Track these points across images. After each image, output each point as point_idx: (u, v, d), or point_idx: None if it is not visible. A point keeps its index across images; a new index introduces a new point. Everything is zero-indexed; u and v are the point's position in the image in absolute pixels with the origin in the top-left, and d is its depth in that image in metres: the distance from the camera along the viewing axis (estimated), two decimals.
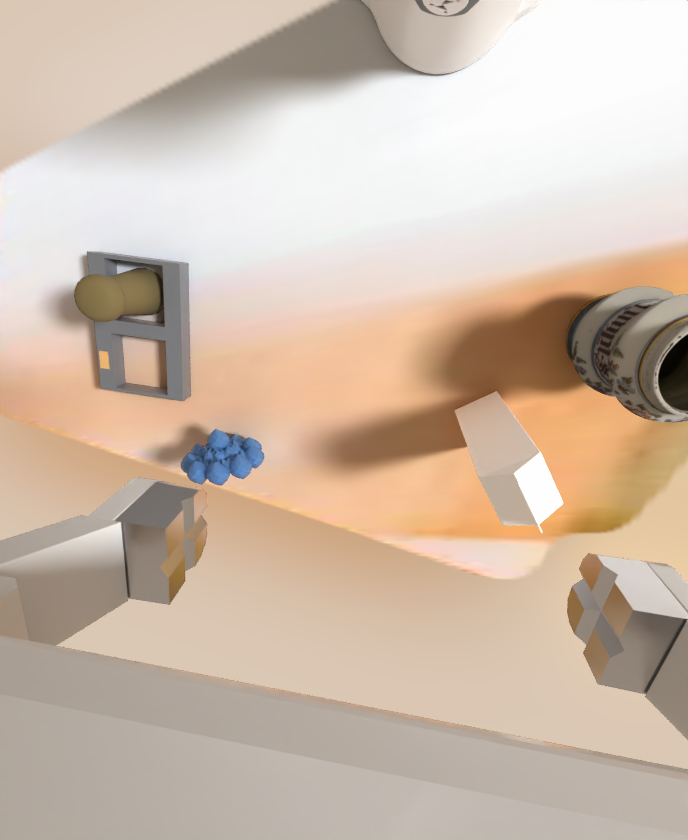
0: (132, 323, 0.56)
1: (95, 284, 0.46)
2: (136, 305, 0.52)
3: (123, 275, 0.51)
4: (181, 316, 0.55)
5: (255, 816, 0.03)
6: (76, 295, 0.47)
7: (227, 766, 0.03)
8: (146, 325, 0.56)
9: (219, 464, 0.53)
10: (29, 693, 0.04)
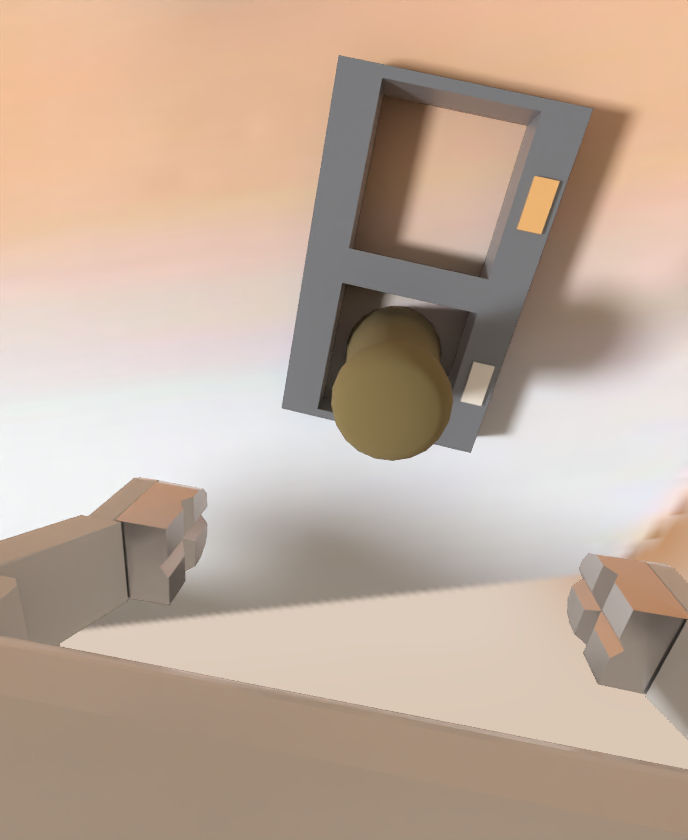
0: (421, 298, 0.24)
1: (367, 446, 0.18)
2: (357, 351, 0.22)
3: None
4: (299, 302, 0.25)
5: (255, 816, 0.03)
6: (431, 427, 0.17)
7: (227, 766, 0.03)
8: (387, 290, 0.24)
9: None
10: (28, 693, 0.04)
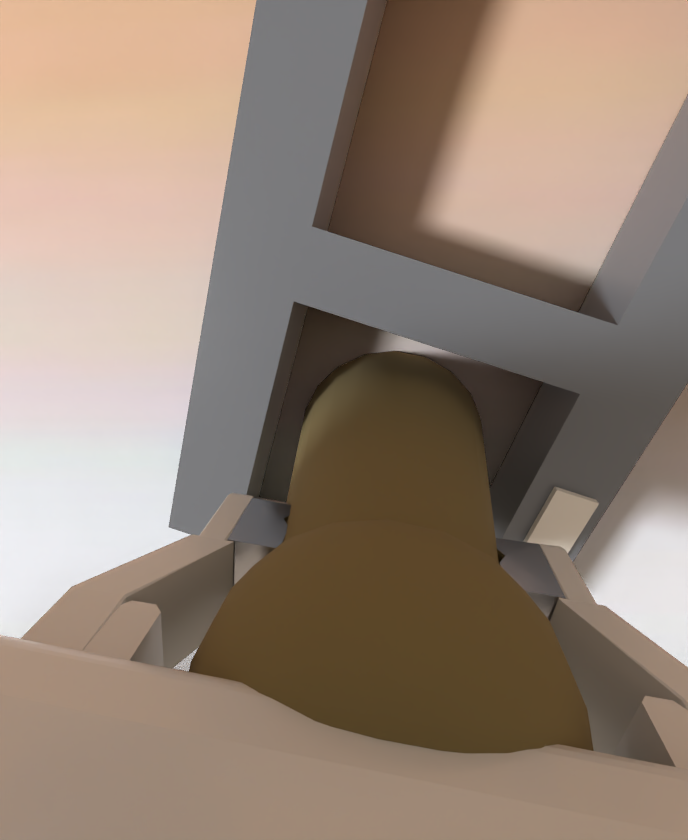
0: (463, 351, 0.11)
1: None
2: (305, 477, 0.09)
3: None
4: (203, 334, 0.12)
5: (255, 816, 0.03)
6: None
7: (227, 766, 0.03)
8: (390, 327, 0.11)
9: None
10: (29, 692, 0.04)
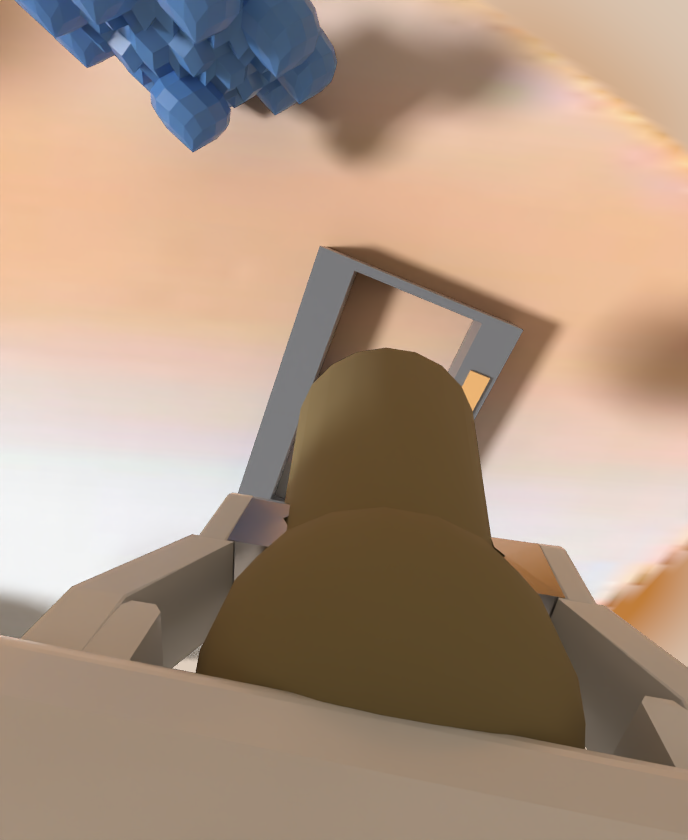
0: None
1: None
2: (303, 473, 0.09)
3: None
4: (260, 426, 0.28)
5: (255, 816, 0.03)
6: None
7: (227, 766, 0.03)
8: None
9: (78, 6, 0.14)
10: (29, 693, 0.04)
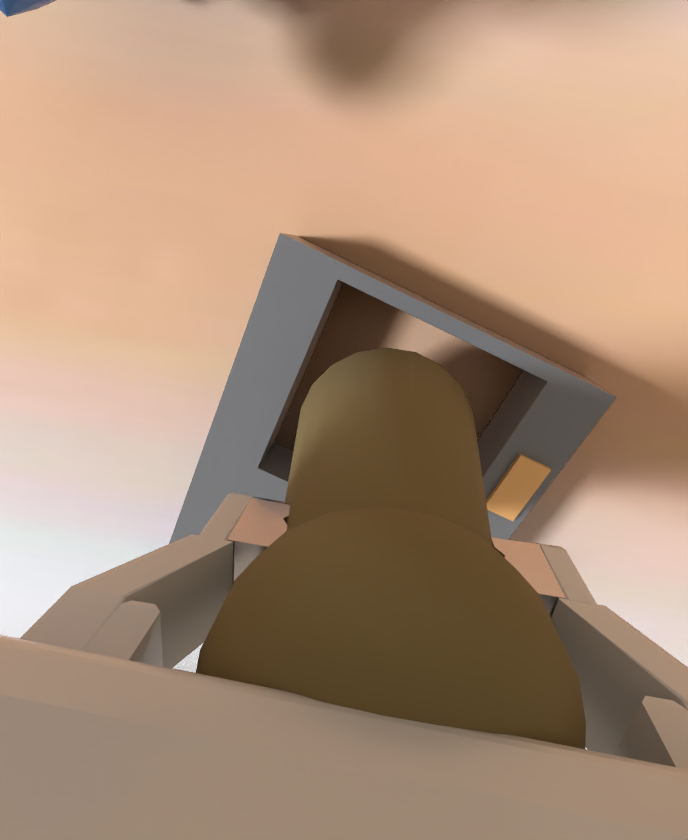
0: None
1: None
2: (303, 473, 0.09)
3: None
4: (183, 508, 0.18)
5: (255, 816, 0.03)
6: None
7: (227, 766, 0.03)
8: None
9: None
10: (29, 693, 0.04)
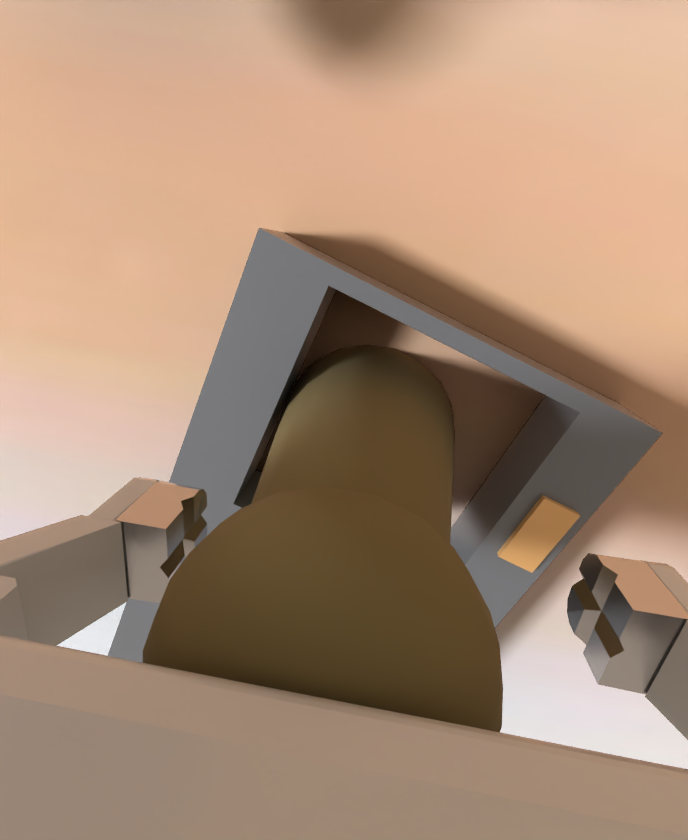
0: None
1: None
2: (272, 461, 0.10)
3: None
4: None
5: (255, 816, 0.03)
6: None
7: (227, 766, 0.03)
8: None
9: None
10: (28, 693, 0.04)
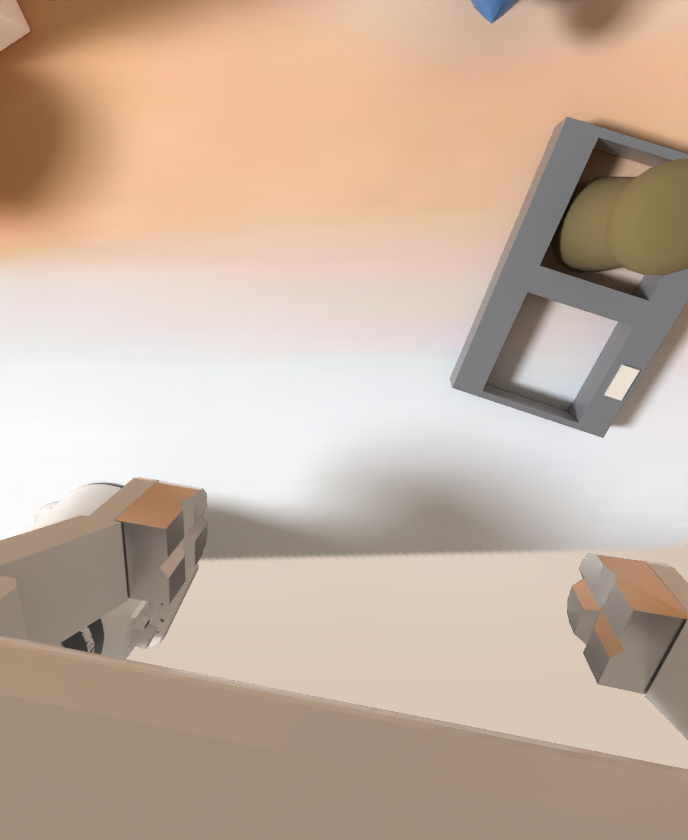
0: (590, 310, 0.29)
1: (658, 255, 0.20)
2: (601, 200, 0.24)
3: (610, 265, 0.26)
4: (486, 304, 0.31)
5: (255, 816, 0.03)
6: None
7: (227, 766, 0.03)
8: (563, 301, 0.30)
9: None
10: (28, 693, 0.04)
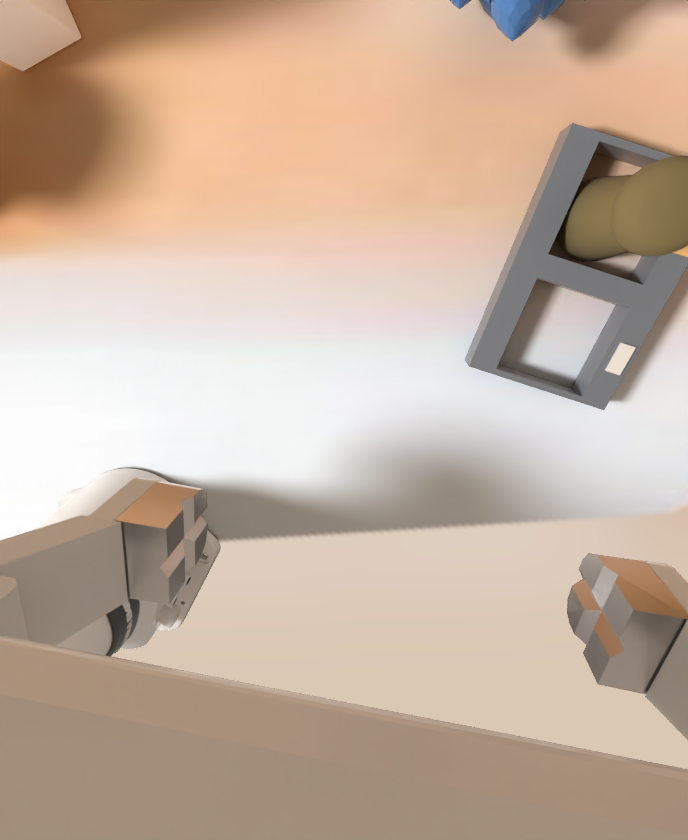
0: (592, 294, 0.33)
1: (656, 237, 0.24)
2: (604, 194, 0.28)
3: (611, 251, 0.30)
4: (500, 289, 0.34)
5: (255, 816, 0.03)
6: None
7: (227, 766, 0.03)
8: (569, 286, 0.33)
9: None
10: (29, 693, 0.04)
